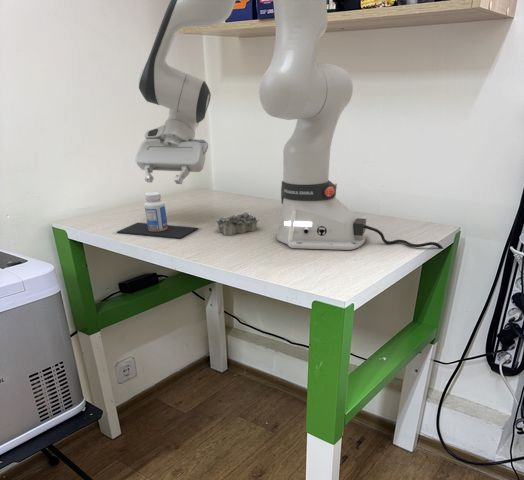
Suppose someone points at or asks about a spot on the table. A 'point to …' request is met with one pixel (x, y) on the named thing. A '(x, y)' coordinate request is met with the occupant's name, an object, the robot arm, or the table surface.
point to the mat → (170, 232)
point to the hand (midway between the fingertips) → (162, 182)
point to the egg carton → (236, 224)
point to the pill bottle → (155, 212)
